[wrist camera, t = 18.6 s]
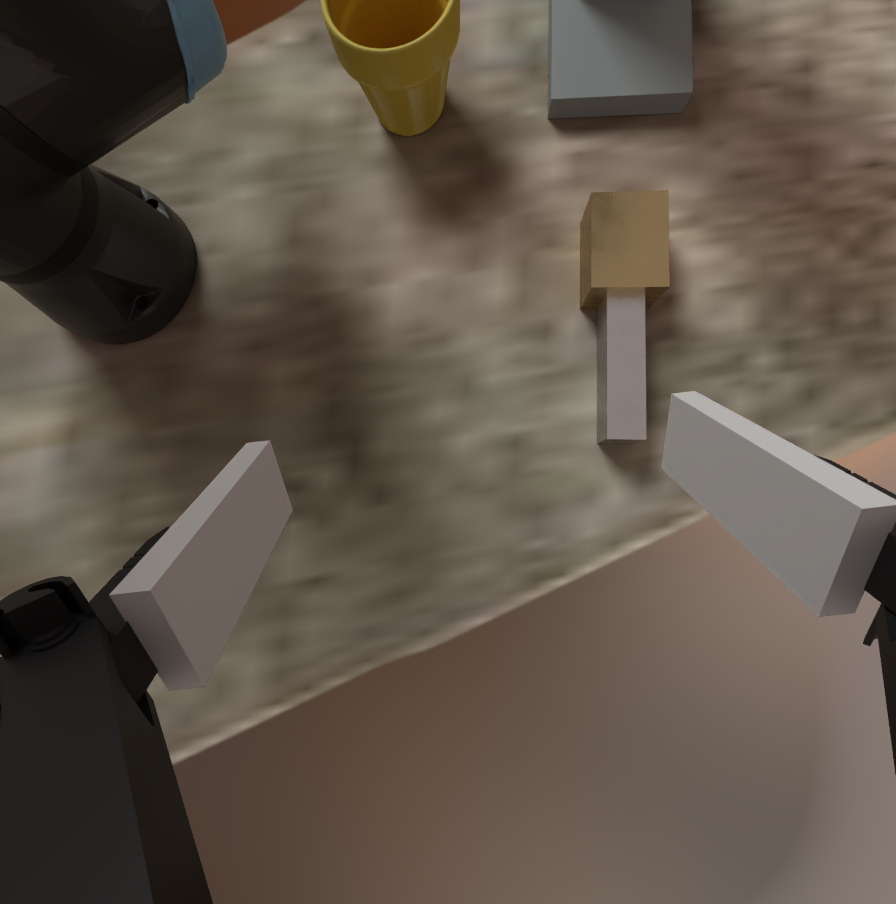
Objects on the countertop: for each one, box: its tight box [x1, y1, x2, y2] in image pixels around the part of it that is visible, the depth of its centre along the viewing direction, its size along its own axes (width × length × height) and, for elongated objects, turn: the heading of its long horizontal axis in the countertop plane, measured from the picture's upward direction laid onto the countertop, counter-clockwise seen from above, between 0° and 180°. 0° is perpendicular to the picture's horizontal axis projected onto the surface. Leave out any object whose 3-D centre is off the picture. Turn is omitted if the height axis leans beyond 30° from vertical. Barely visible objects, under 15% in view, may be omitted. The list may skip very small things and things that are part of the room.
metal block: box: [580, 190, 670, 444], centre depth 35 cm, size 6×20×4 cm, turn 178°
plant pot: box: [321, 0, 460, 136], centre depth 36 cm, size 10×10×10 cm
